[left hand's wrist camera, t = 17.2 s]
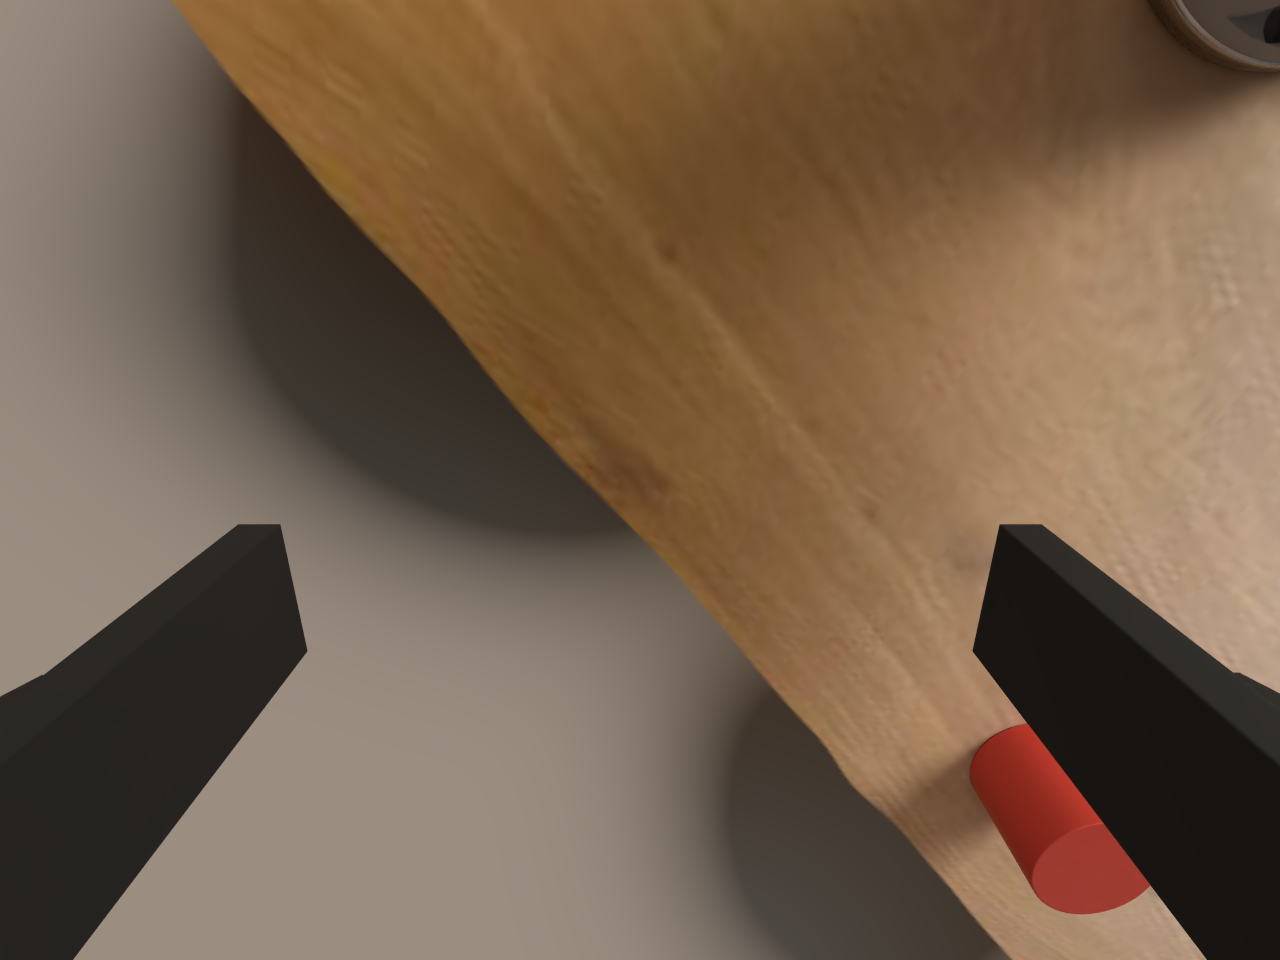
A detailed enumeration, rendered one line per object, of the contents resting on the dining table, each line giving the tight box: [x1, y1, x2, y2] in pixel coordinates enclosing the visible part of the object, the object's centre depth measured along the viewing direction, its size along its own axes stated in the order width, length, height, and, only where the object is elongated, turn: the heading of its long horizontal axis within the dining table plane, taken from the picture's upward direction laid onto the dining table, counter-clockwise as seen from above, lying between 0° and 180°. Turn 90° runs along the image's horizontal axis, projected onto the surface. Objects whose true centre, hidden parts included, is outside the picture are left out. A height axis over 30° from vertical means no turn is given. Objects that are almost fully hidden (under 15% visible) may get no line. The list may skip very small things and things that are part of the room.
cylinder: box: [970, 724, 1150, 914], centre depth 41 cm, size 7×7×8 cm
